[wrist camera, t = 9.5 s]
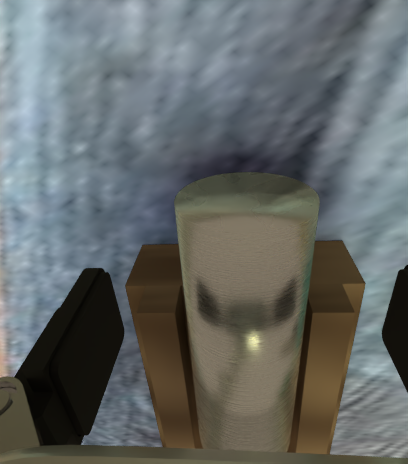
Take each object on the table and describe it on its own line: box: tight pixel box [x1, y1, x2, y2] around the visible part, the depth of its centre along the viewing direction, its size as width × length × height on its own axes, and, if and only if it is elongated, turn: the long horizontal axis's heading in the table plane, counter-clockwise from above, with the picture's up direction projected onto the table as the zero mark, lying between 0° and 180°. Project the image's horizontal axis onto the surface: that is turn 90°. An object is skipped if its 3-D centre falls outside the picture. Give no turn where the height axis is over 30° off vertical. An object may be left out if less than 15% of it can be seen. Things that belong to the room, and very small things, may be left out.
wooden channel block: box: [125, 241, 366, 454], centre depth 22 cm, size 18×12×6 cm, turn 4°
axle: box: [174, 172, 320, 452], centre depth 15 cm, size 14×5×5 cm, turn 3°
